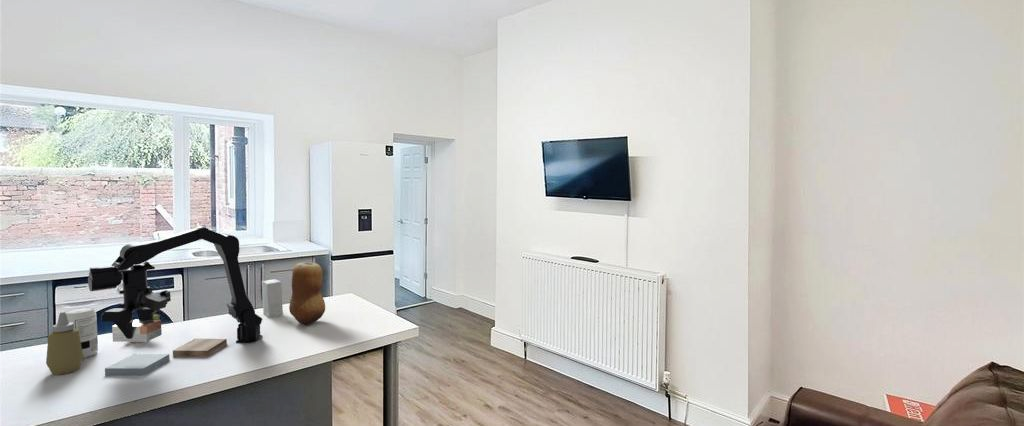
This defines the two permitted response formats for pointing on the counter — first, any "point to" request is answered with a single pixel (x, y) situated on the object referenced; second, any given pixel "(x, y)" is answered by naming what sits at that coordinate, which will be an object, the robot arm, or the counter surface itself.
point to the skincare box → (272, 298)
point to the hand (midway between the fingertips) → (137, 335)
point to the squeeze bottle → (64, 347)
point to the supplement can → (85, 328)
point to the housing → (139, 331)
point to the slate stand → (137, 364)
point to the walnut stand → (200, 347)
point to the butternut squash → (307, 293)
